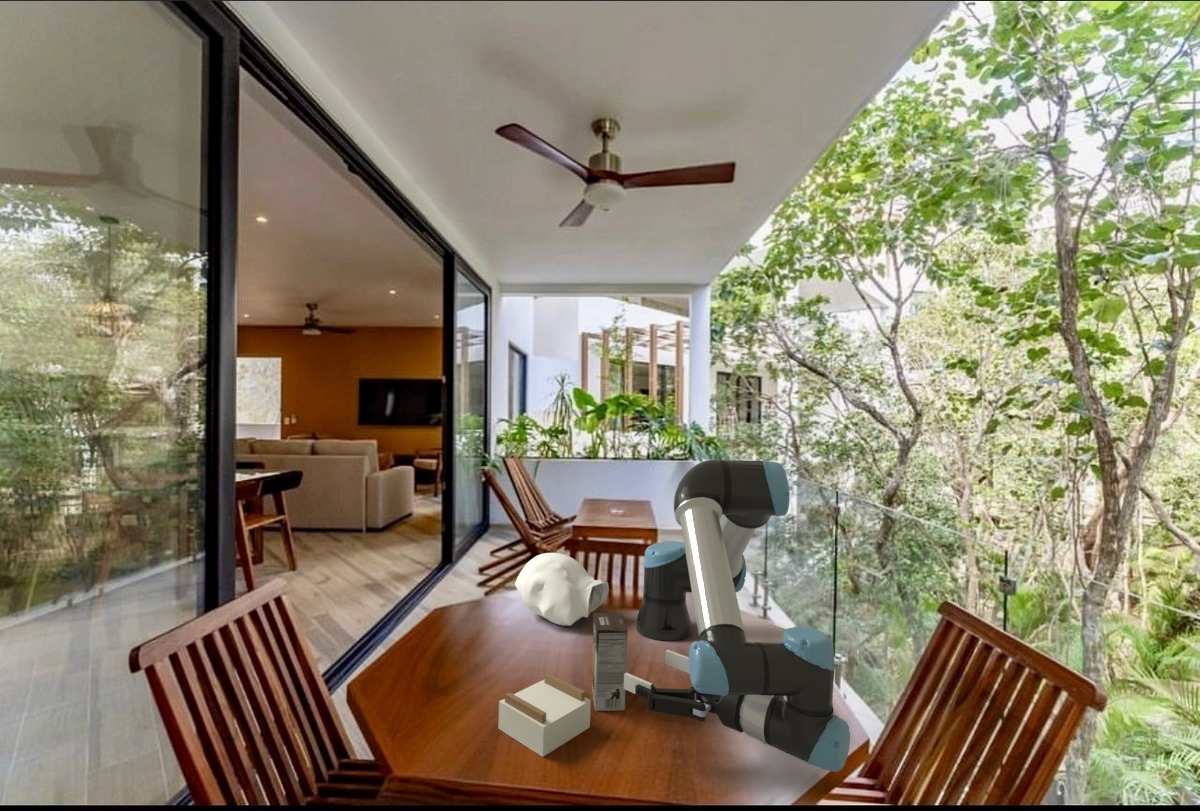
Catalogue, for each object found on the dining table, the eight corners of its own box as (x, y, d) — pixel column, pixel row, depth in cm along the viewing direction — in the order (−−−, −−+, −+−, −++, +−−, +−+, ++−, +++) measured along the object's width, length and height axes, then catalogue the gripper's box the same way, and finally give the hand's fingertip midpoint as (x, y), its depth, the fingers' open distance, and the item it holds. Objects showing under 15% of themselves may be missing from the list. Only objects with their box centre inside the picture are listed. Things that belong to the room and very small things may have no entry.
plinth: (545, 703, 109) (546, 670, 109) (589, 727, 101) (590, 692, 101) (498, 728, 100) (499, 693, 100) (542, 757, 92) (543, 718, 92)
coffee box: (590, 688, 115) (592, 612, 115) (620, 687, 116) (622, 612, 116) (593, 711, 106) (596, 629, 106) (626, 711, 107) (628, 629, 107)
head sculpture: (569, 656, 143) (500, 613, 156) (609, 614, 159) (543, 579, 171) (573, 604, 137) (501, 564, 149) (614, 565, 153) (546, 532, 165)
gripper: (711, 767, 81) (604, 713, 95) (778, 703, 100) (680, 665, 114) (712, 717, 82) (605, 670, 95) (778, 662, 100) (681, 630, 114)
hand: (646, 668), depth 105 cm, fingers open, 13 cm apart
